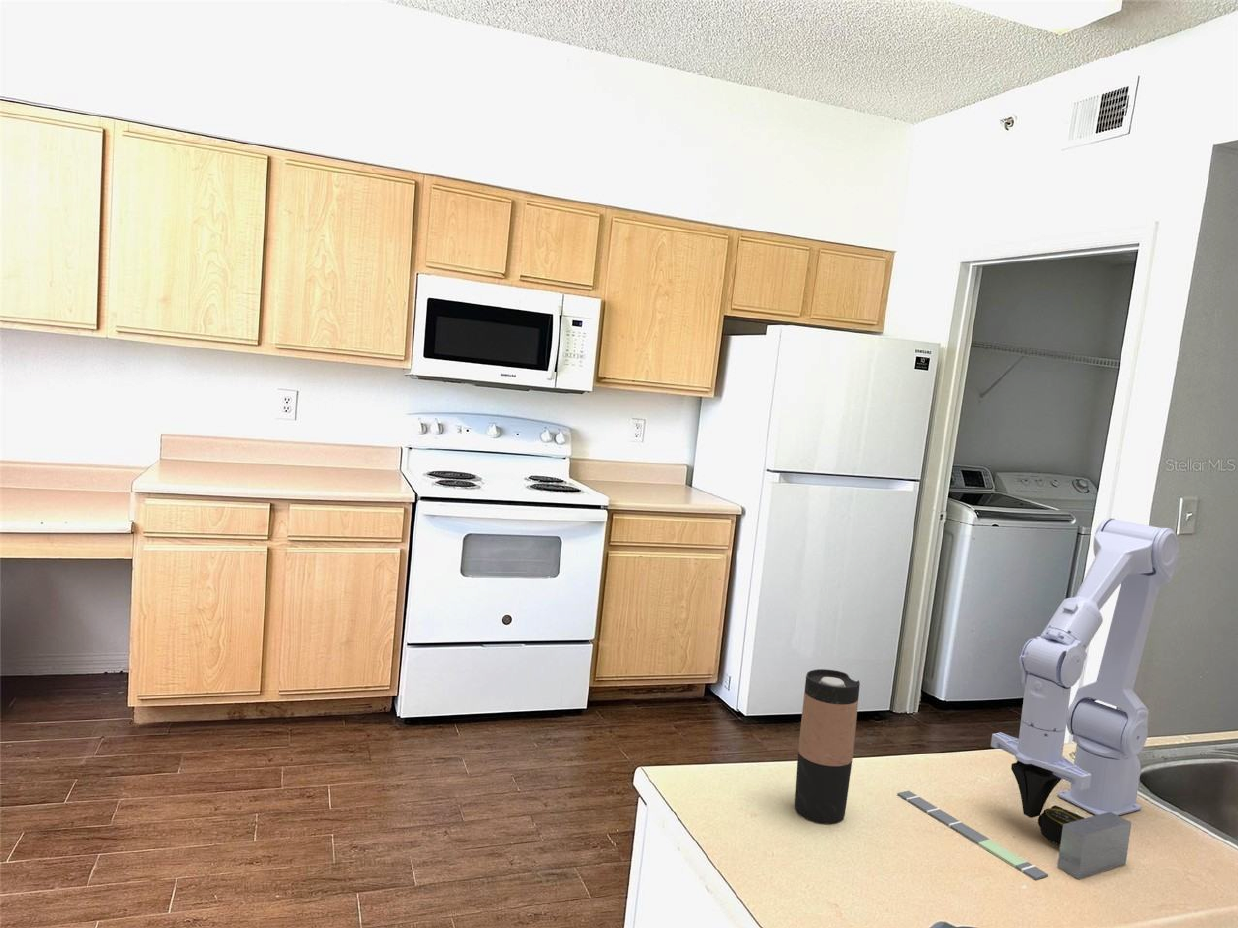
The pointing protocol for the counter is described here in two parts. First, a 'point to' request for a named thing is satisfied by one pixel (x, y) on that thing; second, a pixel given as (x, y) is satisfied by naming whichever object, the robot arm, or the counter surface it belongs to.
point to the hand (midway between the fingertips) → (1031, 814)
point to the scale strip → (975, 836)
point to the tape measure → (1055, 822)
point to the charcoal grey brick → (1094, 845)
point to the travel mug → (826, 745)
